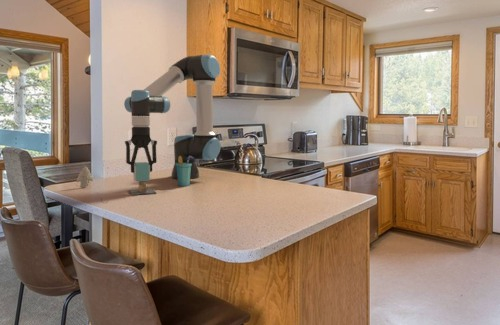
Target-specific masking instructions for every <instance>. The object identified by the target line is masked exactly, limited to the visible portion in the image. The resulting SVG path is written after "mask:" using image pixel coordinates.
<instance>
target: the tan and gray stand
mask: <svg viewBox="0 0 500 325" xmlns="http://www.w3.org/2000/svg"><path fill="white" fill-rule="evenodd" d="M128 193H130V194H131V196H145V195H156V194H157V191H156V190H154V189H153V188H147V181H138V189H129V190H128Z"/></svg>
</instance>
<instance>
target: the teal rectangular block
mask: <svg viewBox="0 0 500 325" xmlns="http://www.w3.org/2000/svg"><path fill="white" fill-rule="evenodd" d="M134 165H136V182H139V181H146V182H147V181H150V180H149V163H148V161H141V162H138V161H137V162H136V161H135V164H134Z"/></svg>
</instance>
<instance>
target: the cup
mask: <svg viewBox="0 0 500 325" xmlns="http://www.w3.org/2000/svg"><path fill="white" fill-rule="evenodd" d="M189 158H192V159H194V157H192V156H189V157H188V159H187V163H183V161H182V157H181V156H179V157H178V162H179V163H177V164H176V166H177V176H178V179H177V184H178V187H189V186H190V183H191V182H190V181H191V179H190V172H191V166H192V164H191V163H189Z"/></svg>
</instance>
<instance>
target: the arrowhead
mask: <svg viewBox="0 0 500 325" xmlns="http://www.w3.org/2000/svg"><path fill="white" fill-rule="evenodd" d="M90 181H91V182H93V181H94V177H93V174H92V173H91V171H90V170H89V168H88V167H87V166H84V167H83V168H82V169H81V170H80V172H79V174H78V176H77V179H76V183H79V182H80V185H79V188H84V189H85V187H86V188H88V187H89V183H90Z"/></svg>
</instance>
